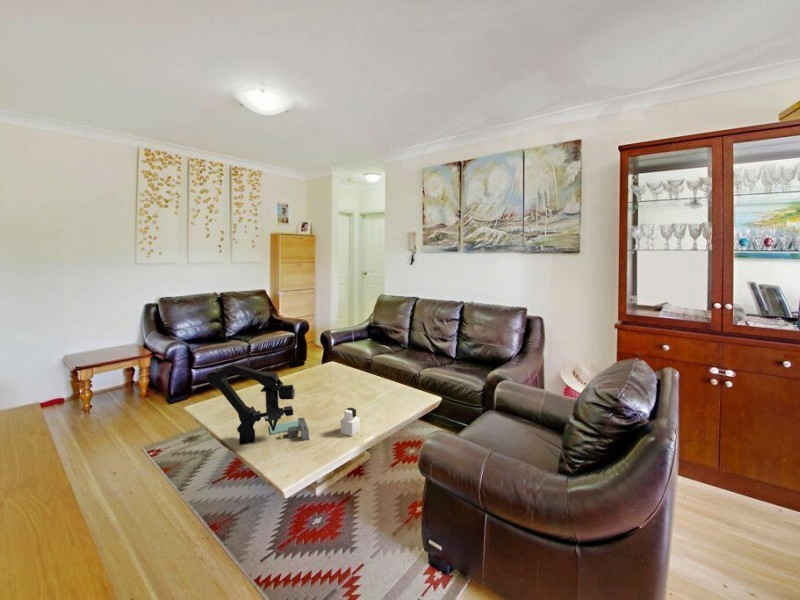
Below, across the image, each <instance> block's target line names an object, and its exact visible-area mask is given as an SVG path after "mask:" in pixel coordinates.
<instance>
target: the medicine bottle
mask: <svg viewBox="0 0 800 600" xmlns="http://www.w3.org/2000/svg"><path fill="white" fill-rule="evenodd" d="M360 430H361V417H359V416H357V410H356V408H354V407H347V408H345V409H344V411H343V418H340V434H342V435H346V436H349V437H353V436H355V435H356V434H357V433H359V432H360Z"/></svg>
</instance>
